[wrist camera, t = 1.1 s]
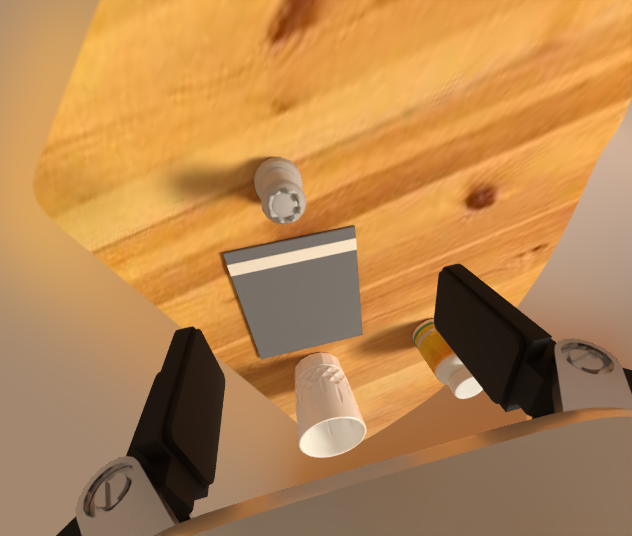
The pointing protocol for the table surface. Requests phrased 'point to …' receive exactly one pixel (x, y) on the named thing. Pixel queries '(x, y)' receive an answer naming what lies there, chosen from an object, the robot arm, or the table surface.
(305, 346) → the mat
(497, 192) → the table surface
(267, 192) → the rook chess piece
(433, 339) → the supplement bottle
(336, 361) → the white cup
